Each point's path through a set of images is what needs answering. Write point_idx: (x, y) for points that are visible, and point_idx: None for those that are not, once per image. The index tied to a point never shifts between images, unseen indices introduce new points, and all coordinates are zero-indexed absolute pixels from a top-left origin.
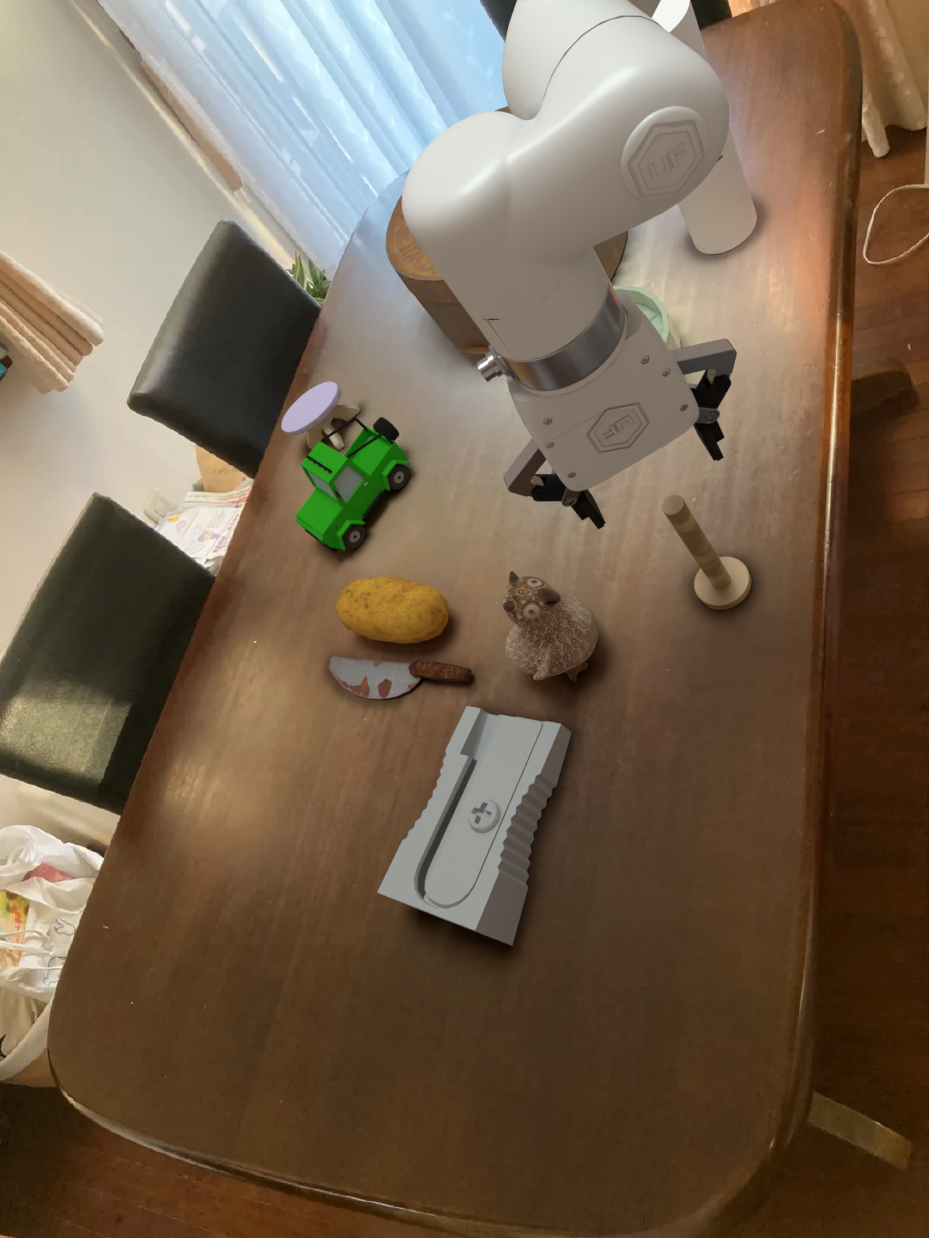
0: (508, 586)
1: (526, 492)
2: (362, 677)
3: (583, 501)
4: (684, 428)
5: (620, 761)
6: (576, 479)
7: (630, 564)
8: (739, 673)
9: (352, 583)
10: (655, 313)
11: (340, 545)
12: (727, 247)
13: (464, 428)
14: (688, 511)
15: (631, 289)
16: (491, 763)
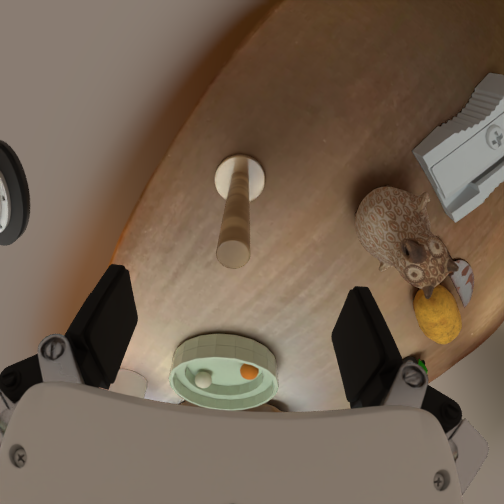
0: (436, 285)
1: (465, 428)
2: (466, 285)
3: (392, 360)
4: (57, 399)
5: (395, 104)
6: (435, 460)
7: (293, 244)
8: (274, 99)
9: (444, 343)
10: (178, 377)
11: (419, 362)
12: (131, 372)
13: (316, 384)
14: (221, 235)
15: (183, 396)
16: (472, 168)
